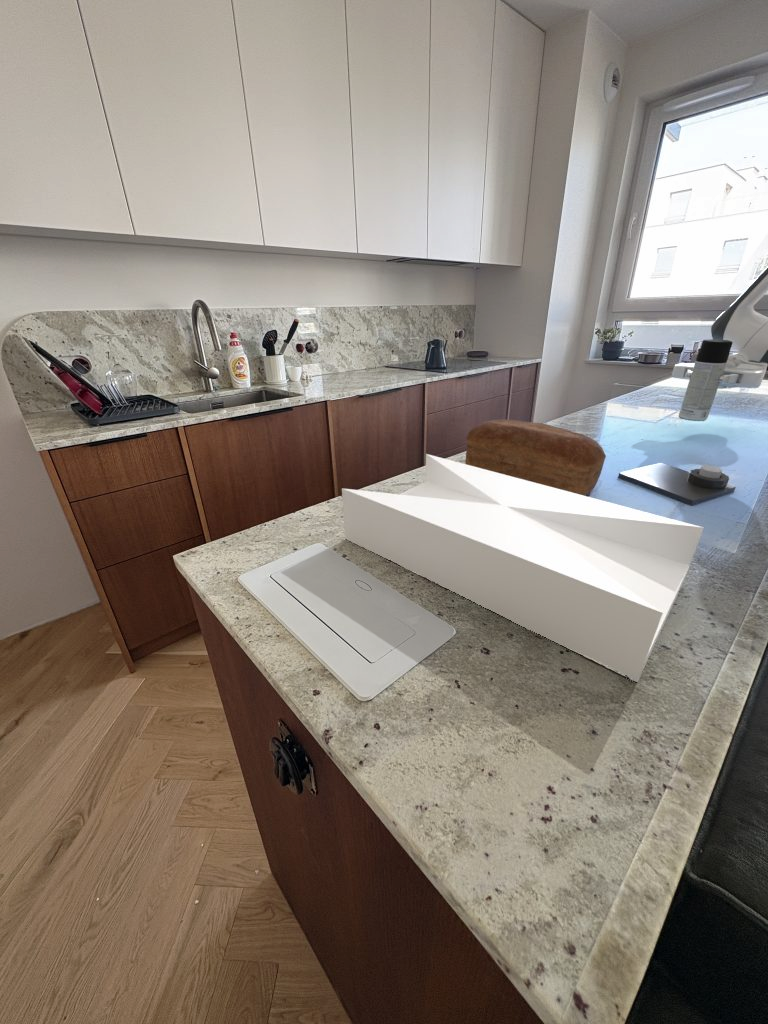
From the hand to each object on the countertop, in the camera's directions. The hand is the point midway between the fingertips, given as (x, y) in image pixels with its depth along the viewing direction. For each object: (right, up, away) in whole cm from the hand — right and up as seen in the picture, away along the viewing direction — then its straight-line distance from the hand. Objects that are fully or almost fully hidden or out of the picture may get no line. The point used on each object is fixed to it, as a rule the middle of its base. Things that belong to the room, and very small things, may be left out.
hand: (704, 377), depth 110 cm
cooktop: (-22, -29, -20) cm, 42 cm away
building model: (-67, -43, -45) cm, 91 cm away
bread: (-53, -29, -17) cm, 62 cm away
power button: (-17, -28, -23) cm, 40 cm away
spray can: (+1, -10, +6) cm, 11 cm away
